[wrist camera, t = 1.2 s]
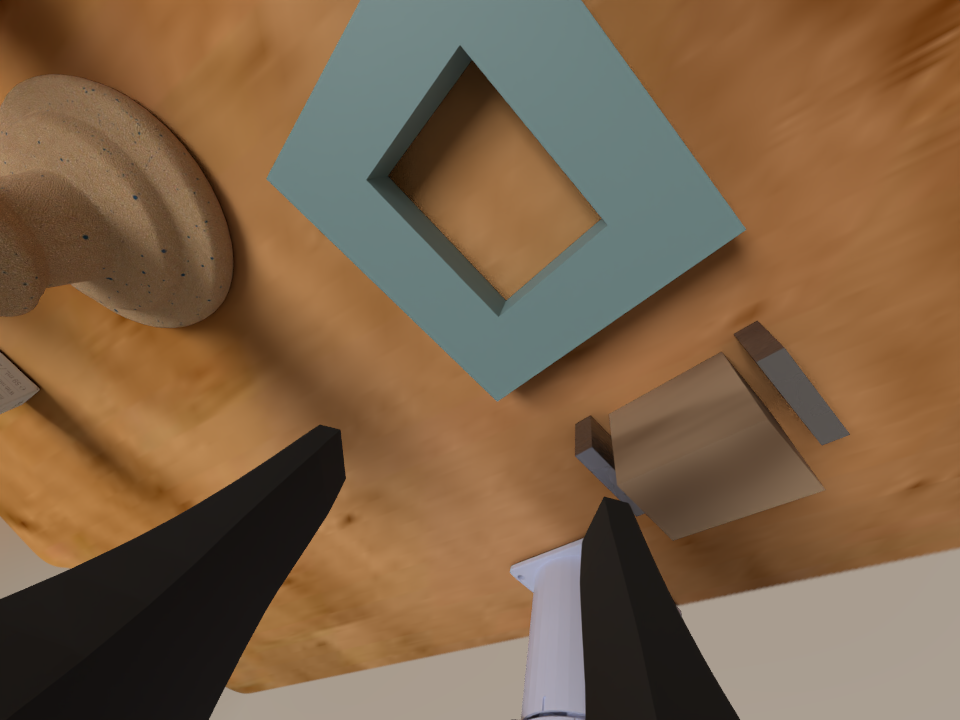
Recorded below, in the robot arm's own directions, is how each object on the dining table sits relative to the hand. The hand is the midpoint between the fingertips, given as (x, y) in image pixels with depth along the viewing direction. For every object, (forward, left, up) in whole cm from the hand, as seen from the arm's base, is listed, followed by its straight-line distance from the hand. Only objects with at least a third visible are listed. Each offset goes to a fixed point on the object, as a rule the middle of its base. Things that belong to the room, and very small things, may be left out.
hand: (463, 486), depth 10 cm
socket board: (+5, -3, -10) cm, 12 cm away
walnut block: (-9, -3, -10) cm, 14 cm away
